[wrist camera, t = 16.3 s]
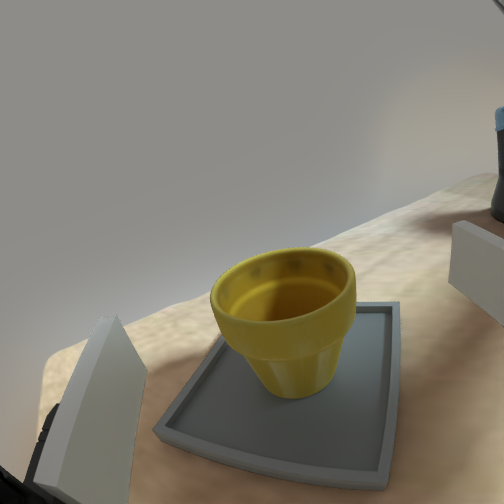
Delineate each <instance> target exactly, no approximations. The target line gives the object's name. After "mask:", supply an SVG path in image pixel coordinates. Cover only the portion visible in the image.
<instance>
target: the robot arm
mask: <svg viewBox="0 0 504 504" xmlns="http://www.w3.org/2000/svg"><path fill="white" fill-rule="evenodd" d="M493 2H494V3H495V4H496V6H497V7H498V8H499V9H500V10H501V12H502V13H503V14H504V0H493ZM495 120H496V129H495V130H496V131H497V141H498V162H499V163H498V164H499V178H498V182H497V185H496V189H495V192H494V195H493V198H492V202H491V214H492V215H493V216H494V217H495V218H496V219H498V220H500V221H502V222H504V107H500V108H498V109H497V110H496V112H495ZM448 283H450V284H451V285H452V286H454V287H455V288H456V289H458V290H459V291H460V292H462V293H463V294H464V295H465V296H467V297H468V298H469V299H470V300H472V301H473V302H474V303H476V304H477V305H478V306H479V307H480V308H482V309H483V310H484V311H485V312H487V313H488V314H489V315H490V316H491V317H493V318H494V319H495V320H496V321H497V322H499V323H500V324H501V325H502V326H503V327H504V239H503V238H501V237H499V236H497V235H495V234H493V233H491V232H489V231H487V230H485V229H483V228H481V227H479V226H476V225H474V224H472V223H470V222H468V221H466V220H462V221H459V222H456V223H453V224H452V245H451V259H450V270H449V280H448ZM147 371H148V370H147V369H146V367H145V365H144V364H143V362H142V360H141V359H140V357H139V355H138V353H137V352H136V350H135V348H134V346H133V344H132V343H131V341H130V339H129V337H128V335H127V333H126V331H125V330H124V328H123V326H122V324H121V322H120V320H119V318H118V316H117V315H112V316H108V317H103V318H99V320H98V322H97V323H96V325H95V327H94V329H93V331H92V333H91V335H90V337H89V339H88V342H87V344H86V346H85V348H84V350H83V352H82V354H81V356H80V358H79V360H78V363H77V365H76V367H75V369H74V372H73V374H72V376H71V378H70V381H69V383H68V385H67V388H66V390H65V392H64V395H63V397H62V400H61V402H60V403H58V404H56V405H55V406H54V407H53V409H52V410H51V411H50V412H49V414H48V415H47V417H46V420H45V422H44V425H43V427H42V430H43V431H42V432H41V433H40V435H39V438H38V441H39V442H37V443H36V446H35V449H34V452H33V455H32V458H31V461H30V464H29V467H28V470H27V473H26V477H25V480H24V482H23V483H21V482H20V481H19V480H18V479H16V478H15V477H14V476H12V475H11V474H10V473H9V472H8V471H6V470H5V469H4V468H2V467H1V466H0V504H128V497H129V487H130V478H131V469H132V461H133V454H134V447H135V440H136V433H137V427H138V420H139V414H140V408H141V403H142V397H143V392H144V386H145V381H146V376H147Z"/></svg>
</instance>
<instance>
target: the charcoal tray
mask: <svg viewBox="0 0 504 504" xmlns="http://www.w3.org/2000/svg"><path fill="white" fill-rule="evenodd" d="M400 352H401V334H400V302H356V315H355V319H354V322H353V324H352V326H351V328H350V329H349V331H348V332H347V333H346V334H345V336H344V340H343V344H342V348H341V352H340V356H339V359H338V363H337V367H336V371H335V374H334V376H333V378H332V380H331V381H330V383H329V384H328V385H327V386H326V387H325V388H323V389H322V390H321V391H319V392H317V393H316V394H313V395H311V396H308V397H305V398H299V399H286V398H281V397H278V396H276V395H274V394H272V393H271V392H269V391H268V390H267V389H266V388H265V386H264V385H263V384H262V382H261V381H260V379H259V378H258V376H257V375H256V373H255V372H254V370H253V369H252V367H251V366H250V365H249V363H248V362H247V360H246V359H245V357H244V356H243V355H242V354H240V353H238V352H237V351H235V350H234V349H233V348H231V347H230V346H229V345H228V343H227V342H226V341H225V339H224V337H223V335H222V336H221V337H220V338H219V340H218V341H217V343H216V344H215V345H214V347H213V348H212V349H211V351H210V352H209V354H208V355H207V356H206V358H205V359H204V360H203V362H202V363H201V365H200V366H199V367H198V369H197V370H196V371H195V373H194V374H193V376H192V377H191V378H190V380H189V381H188V382H187V384H186V385H185V386H184V388H183V389H182V390H181V392H180V393H179V395H178V396H177V397H176V399H175V400H174V401H173V403H172V404H171V405H170V407H169V408H168V409H167V411H166V412H165V413H164V415H163V416H162V417H161V419H160V420H159V421H158V423H157V424H156V425H155V427H154V428H153V429H152V430H153V432H154V433H155V434H156V435H157V437H158V438H159V439H160V440H161V441H163V442H165V443H167V444H170V445H172V446H175V447H177V448H180V449H182V450H185V451H187V452H190V453H193V454H195V455H198V456H201V457H204V458H207V459H210V460H213V461H216V462H219V463H222V464H225V465H228V466H232V467H235V468H239V469H242V470H246V471H250V472H253V473H257V474H262V475H266V476H270V477H275V478H279V479H284V480H289V481H294V482H300V483H306V484H312V485H319V486H327V487H335V488H345V489H357V490H376V491H384V489H385V487H386V485H387V483H388V478H389V473H390V467H391V461H392V455H393V448H394V440H395V432H396V423H397V413H398V400H399V384H400Z"/></svg>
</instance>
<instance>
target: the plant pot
mask: <svg viewBox="0 0 504 504" xmlns="http://www.w3.org/2000/svg"><path fill="white" fill-rule="evenodd" d="M210 303H211V307H212V310H213V313H214V316H215V318H216V321H217V324H218V326H219V328H220V331H221V333H222V335H223V337H224V339H225V341H226V342H227V343H228V345H229V346H230V347H231V348H233V349H234V350H235V351H237V352H238V353H240V354H242V355H243V356H244V357H245V359H246V360H247V362H248V363H249V365H250V366H251V367H252V369H253V370H254V372H255V373H256V375H257V376H258V378H259V379H260V381H261V382H262V384H263V385H264V386H265V388H266V389H267V390H268V391H269V392H271V393H272V394H274V395H276V396H278V397H281V398H286V399H299V398H305V397H308V396H311V395H313V394H316V393H317V392H319V391H321V390H322V389H323V388H325V387H326V386H327V385H328V384H329V383H330V381H331V380H332V378H333V376H334V374H335V371H336V367H337V363H338V359H339V356H340V352H341V348H342V344H343V340H344V336H345V334H346V333H347V332H348V331H349V329H350V328H351V326H352V324H353V322H354V319H355V315H356V278H355V272H354V269H353V267H352V265H351V264H350V263H349V261H348V260H346V259H345V258H344V257H342V256H341V255H339V254H337V253H334V252H332V251H328V250H324V249H319V248H309V247H296V248H286V249H280V250H274V251H270V252H266V253H263V254H259V255H256V256H254V257H251V258H248V259H246V260H244V261H242V262H240V263H238V264H236V265H234V266H233V267H231V268H230V269H228V270H227V271H226V272H225V273H223V274H222V275H221V276H220V277H219V279H218V280H217V281H216V283H215V284H214V286H213V288H212V290H211V294H210Z"/></svg>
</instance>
